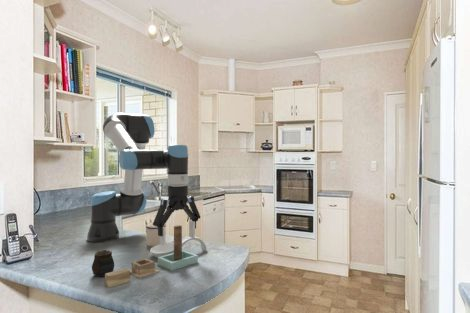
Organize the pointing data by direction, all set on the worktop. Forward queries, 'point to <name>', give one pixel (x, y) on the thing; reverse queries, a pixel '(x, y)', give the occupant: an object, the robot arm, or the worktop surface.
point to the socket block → (143, 268)
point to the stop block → (117, 277)
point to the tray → (172, 265)
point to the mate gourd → (102, 263)
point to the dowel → (177, 242)
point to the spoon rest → (169, 247)
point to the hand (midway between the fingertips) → (177, 240)
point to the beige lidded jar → (153, 235)
